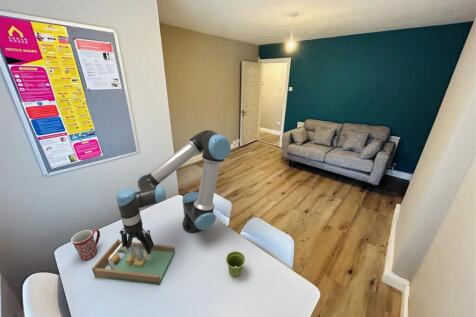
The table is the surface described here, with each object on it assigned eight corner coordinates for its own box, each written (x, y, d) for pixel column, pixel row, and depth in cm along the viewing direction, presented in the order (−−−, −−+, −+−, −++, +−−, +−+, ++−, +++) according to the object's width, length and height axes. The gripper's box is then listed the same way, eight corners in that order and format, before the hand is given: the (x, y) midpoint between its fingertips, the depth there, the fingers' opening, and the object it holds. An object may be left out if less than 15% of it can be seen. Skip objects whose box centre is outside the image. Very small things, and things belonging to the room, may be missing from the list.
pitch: (175, 253, 107) (173, 240, 103) (159, 284, 90) (156, 271, 87) (119, 247, 110) (116, 235, 106) (95, 277, 93) (89, 263, 90)
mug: (86, 264, 99) (78, 245, 94) (74, 259, 102) (66, 239, 97) (109, 246, 110) (103, 227, 105) (97, 241, 113) (91, 223, 108)
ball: (115, 255, 104) (122, 253, 103) (112, 265, 101) (119, 263, 100) (107, 252, 101) (115, 251, 99) (104, 263, 97) (111, 261, 96)
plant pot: (247, 266, 100) (247, 254, 97) (241, 283, 92) (241, 270, 88) (230, 261, 103) (230, 249, 99) (223, 276, 94) (222, 264, 91)
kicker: (148, 257, 101) (144, 241, 97) (141, 267, 96) (137, 250, 92) (133, 255, 102) (129, 239, 98) (126, 265, 97) (121, 249, 92)
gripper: (157, 217, 91) (163, 252, 100) (116, 213, 93) (126, 248, 102) (149, 228, 84) (156, 265, 93) (105, 224, 86) (116, 261, 95)
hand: (141, 256), depth 98 cm, fingers open, 8 cm apart
